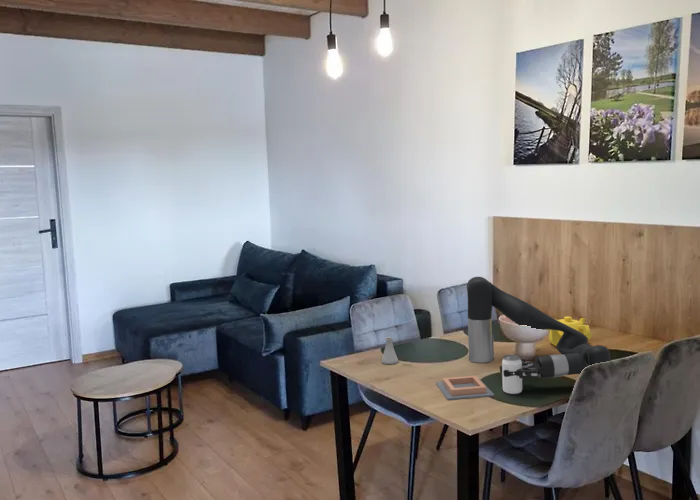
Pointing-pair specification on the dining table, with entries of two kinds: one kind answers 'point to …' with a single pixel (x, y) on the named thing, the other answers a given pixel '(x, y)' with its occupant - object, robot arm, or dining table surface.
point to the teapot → (577, 325)
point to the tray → (463, 388)
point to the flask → (389, 353)
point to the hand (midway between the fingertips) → (502, 371)
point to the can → (512, 364)
